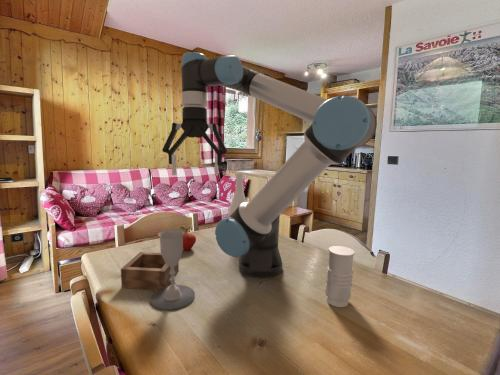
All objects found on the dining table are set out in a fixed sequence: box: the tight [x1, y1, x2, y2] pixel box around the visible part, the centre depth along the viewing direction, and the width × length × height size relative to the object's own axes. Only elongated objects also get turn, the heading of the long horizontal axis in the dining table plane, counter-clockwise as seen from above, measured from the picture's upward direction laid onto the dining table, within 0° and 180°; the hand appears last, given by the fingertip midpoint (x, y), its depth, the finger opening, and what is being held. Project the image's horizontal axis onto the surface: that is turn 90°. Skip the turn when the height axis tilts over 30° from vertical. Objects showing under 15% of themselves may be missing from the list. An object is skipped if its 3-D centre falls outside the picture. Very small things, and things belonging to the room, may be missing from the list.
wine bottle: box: [227, 171, 247, 217], centre depth 129 cm, size 10×10×30 cm
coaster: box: [149, 284, 196, 311], centre depth 80 cm, size 12×12×1 cm
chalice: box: [157, 229, 186, 301], centre depth 78 cm, size 7×7×18 cm
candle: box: [325, 245, 355, 308], centre depth 79 cm, size 7×7×15 cm
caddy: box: [120, 251, 179, 291], centre depth 90 cm, size 13×13×6 cm
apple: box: [176, 226, 197, 251], centre depth 114 cm, size 8×7×10 cm
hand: (195, 175), depth 92 cm, fingers open, 13 cm apart
